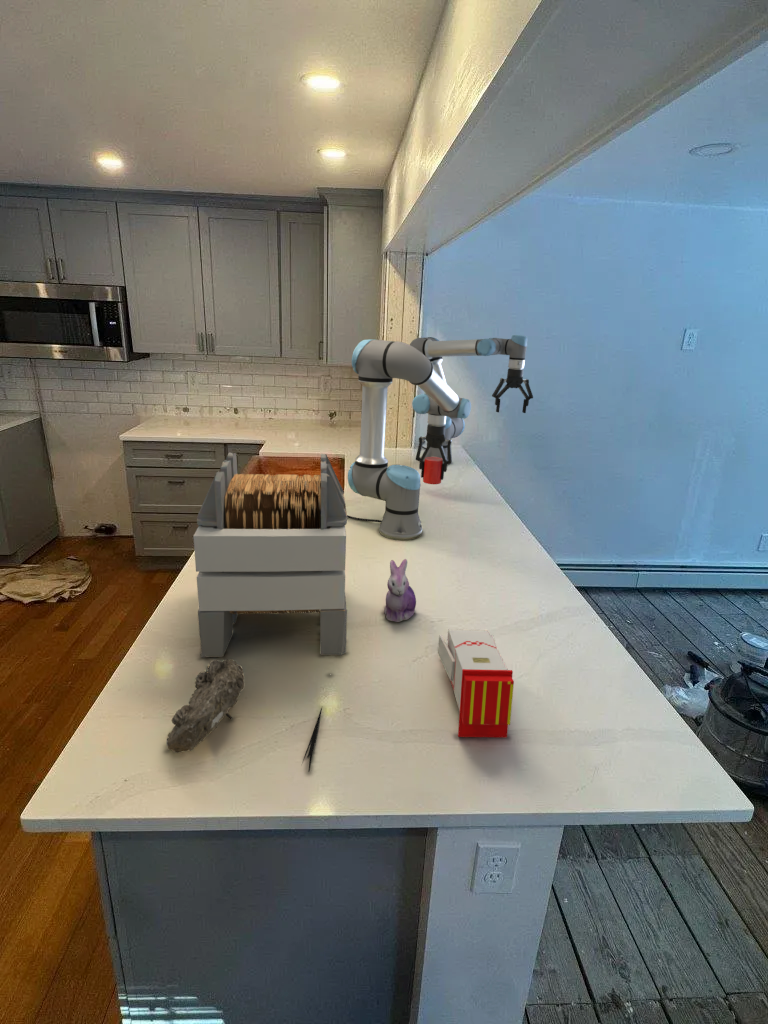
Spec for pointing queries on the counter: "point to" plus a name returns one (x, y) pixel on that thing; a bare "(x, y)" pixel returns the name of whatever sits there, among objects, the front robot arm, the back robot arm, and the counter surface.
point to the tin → (432, 470)
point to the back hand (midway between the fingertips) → (510, 412)
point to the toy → (478, 682)
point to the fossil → (206, 705)
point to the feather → (313, 740)
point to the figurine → (399, 594)
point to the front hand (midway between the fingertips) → (432, 477)
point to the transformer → (271, 552)
